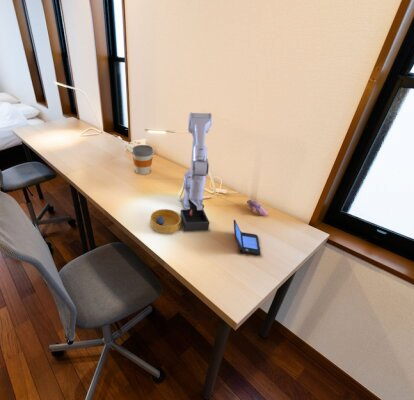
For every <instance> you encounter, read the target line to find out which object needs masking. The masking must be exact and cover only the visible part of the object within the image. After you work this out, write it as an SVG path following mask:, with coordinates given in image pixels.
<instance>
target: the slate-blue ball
mask: <svg viewBox="0 0 414 400" xmlns="http://www.w3.org/2000/svg"><path fill="white" fill-rule="evenodd" d="M156 222H157V224H158V225H162V224H163V223H164V218H163V217H158V218H157V219H156Z"/></svg>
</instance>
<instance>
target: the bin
mask: <svg viewBox="0 0 414 400" xmlns="http://www.w3.org/2000/svg"><path fill="white" fill-rule="evenodd" d="M179 215H180V217H181V224H182V229H183V232H206V231H209V228H210V221H209V218H208V215H207V214H206V212H205V210H204V208H203V209H202V210H201V211H200V213H199V215H198V217H197V218H193V217H192V216H191V215H190V209H180V214H179Z"/></svg>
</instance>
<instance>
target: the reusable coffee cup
mask: <svg viewBox="0 0 414 400" xmlns="http://www.w3.org/2000/svg"><path fill="white" fill-rule="evenodd" d="M153 154H154V149H153V147H152V146H151V145H149V144H148V145H147V144H138V145H135V146H133V147H132V155H133V157H132V159H133V160H132V161H133V165H134V169H135V173H136V174H139V175H147V174H149V173H150V172H151V167H152V165H153Z"/></svg>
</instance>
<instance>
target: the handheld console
mask: <svg viewBox="0 0 414 400" xmlns="http://www.w3.org/2000/svg"><path fill="white" fill-rule="evenodd" d="M233 231H234V233H233V235H234V239H235V241H236V243H237V245H238V247H239V251H240V252H239V253H240V254H246V255H250V256H251V255H253V256H261V254H262V253H261V246H260V242H259V241H260V240H259V236H258V234H255V233H249V232H242V230H241V229H240V227H239V225H238V223H237V221H236V219H233Z"/></svg>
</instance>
